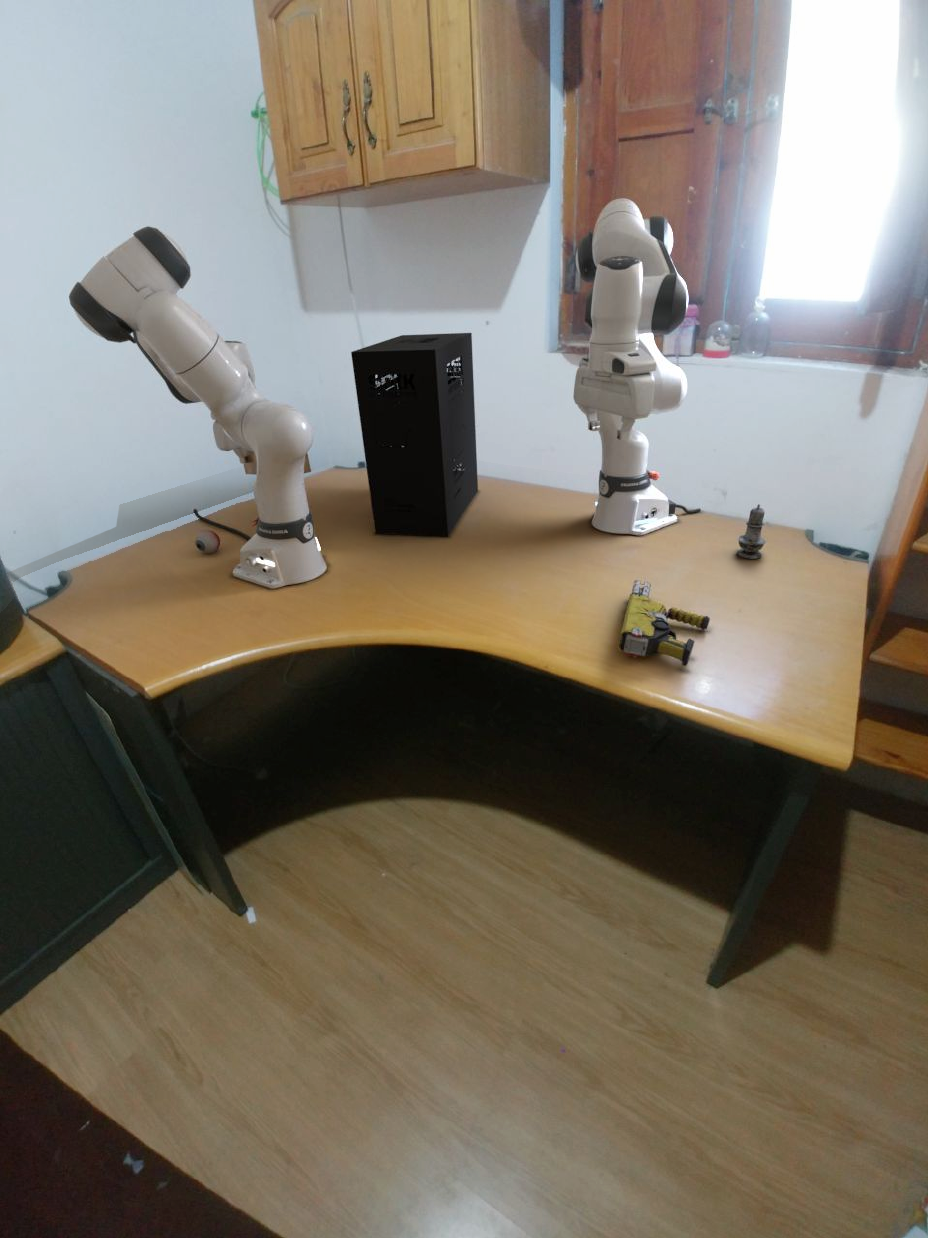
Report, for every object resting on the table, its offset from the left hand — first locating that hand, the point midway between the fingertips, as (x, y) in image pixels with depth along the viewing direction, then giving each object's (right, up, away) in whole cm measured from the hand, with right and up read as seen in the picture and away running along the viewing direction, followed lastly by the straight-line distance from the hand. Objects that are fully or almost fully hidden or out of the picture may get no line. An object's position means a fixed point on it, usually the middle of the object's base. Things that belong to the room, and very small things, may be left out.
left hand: (255, 459), depth 167 cm
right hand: (+86, -8, -48) cm, 99 cm away
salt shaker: (+124, -29, -27) cm, 130 cm away
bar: (+8, -5, -6) cm, 11 cm away
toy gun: (+95, -46, -54) cm, 119 cm away
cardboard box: (+48, -13, +9) cm, 50 cm away
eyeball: (-8, -27, -10) cm, 30 cm away
